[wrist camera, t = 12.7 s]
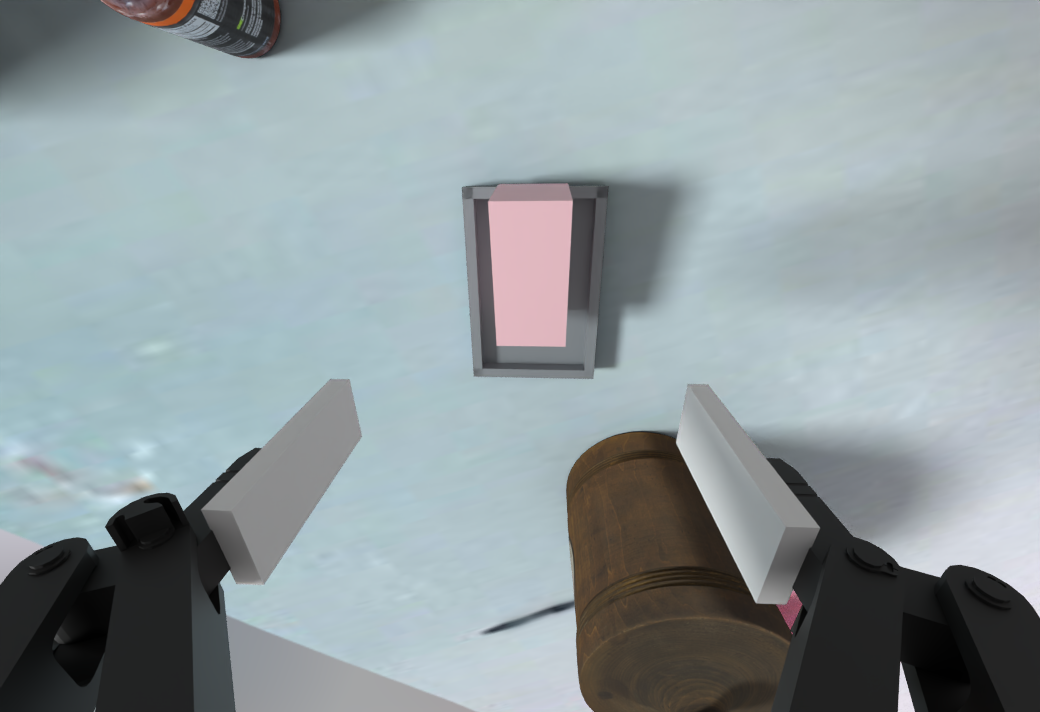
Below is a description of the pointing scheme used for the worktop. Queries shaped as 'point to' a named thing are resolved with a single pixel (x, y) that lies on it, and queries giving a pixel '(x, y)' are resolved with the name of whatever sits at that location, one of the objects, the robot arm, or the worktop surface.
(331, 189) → the worktop surface
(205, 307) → the worktop surface
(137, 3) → the supplement bottle
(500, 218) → the pink rectangular block
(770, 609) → the wooden container
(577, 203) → the tray
